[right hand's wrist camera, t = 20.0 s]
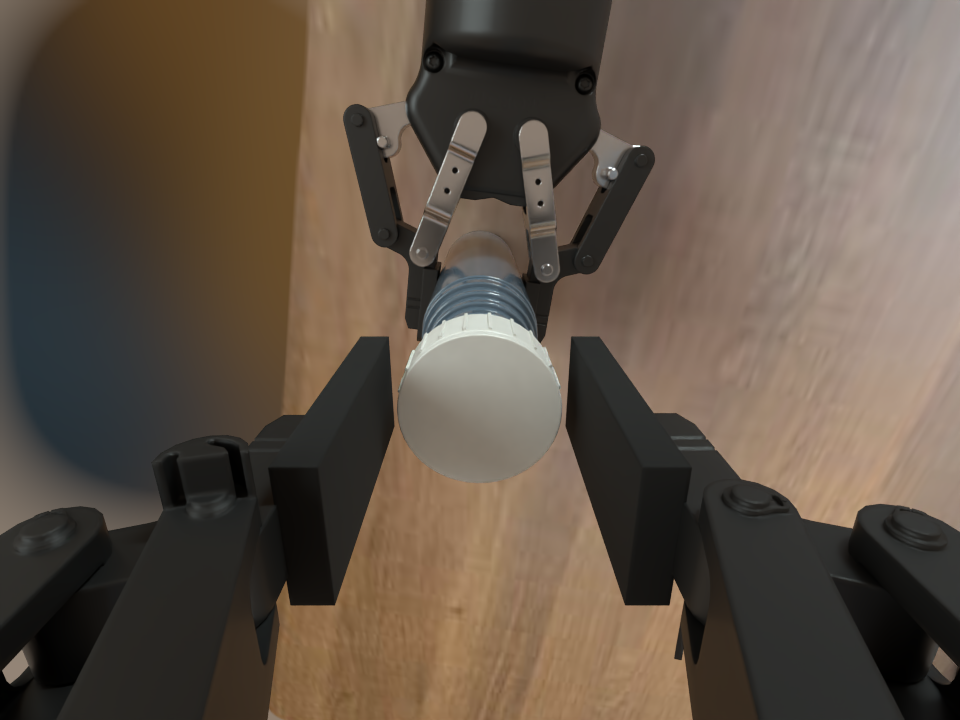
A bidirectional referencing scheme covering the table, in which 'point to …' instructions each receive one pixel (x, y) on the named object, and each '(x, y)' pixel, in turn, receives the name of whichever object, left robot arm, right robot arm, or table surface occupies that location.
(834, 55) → the table surface
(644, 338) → the table surface
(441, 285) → the bottle
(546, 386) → the cap
